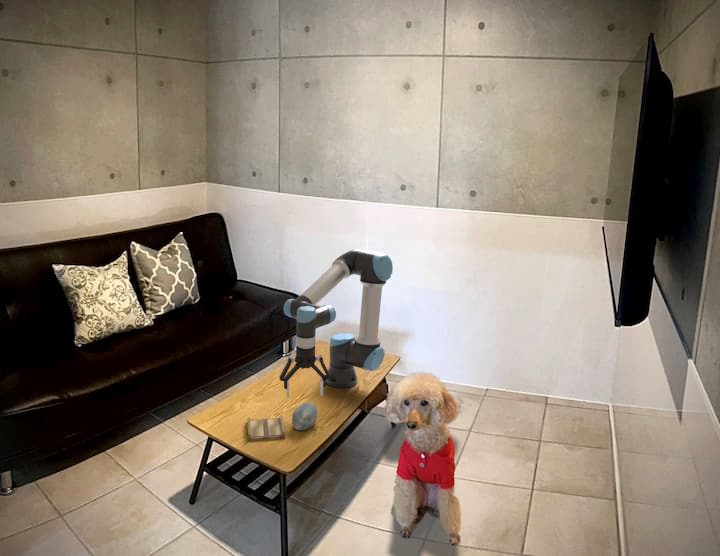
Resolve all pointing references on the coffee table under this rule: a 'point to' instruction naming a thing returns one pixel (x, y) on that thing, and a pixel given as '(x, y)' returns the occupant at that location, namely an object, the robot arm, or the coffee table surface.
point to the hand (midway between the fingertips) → (304, 395)
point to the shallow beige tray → (265, 429)
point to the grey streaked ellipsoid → (304, 416)
